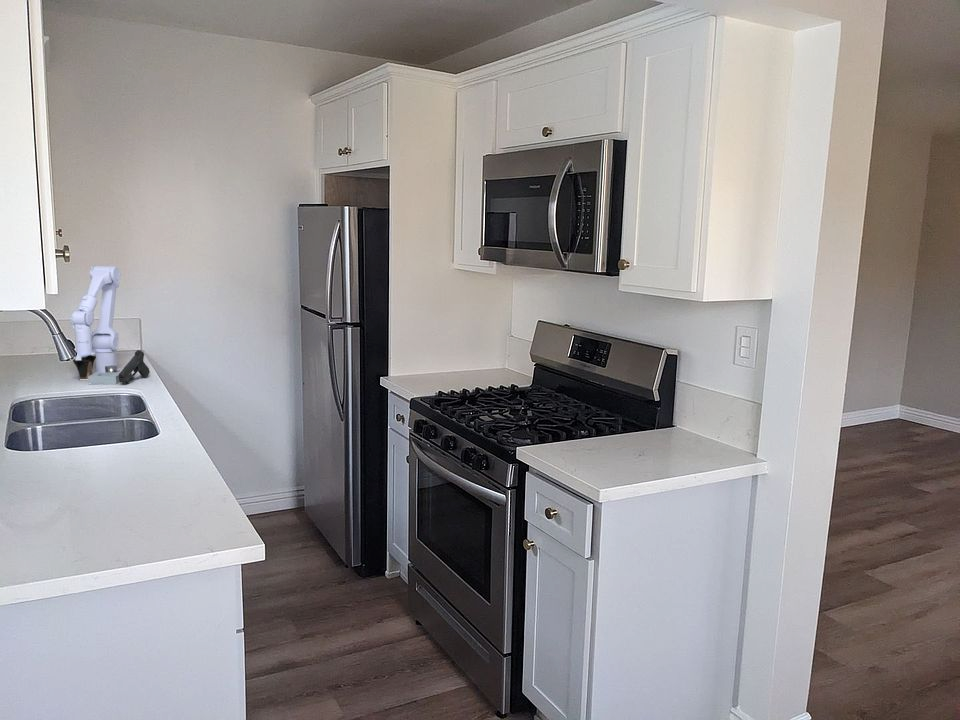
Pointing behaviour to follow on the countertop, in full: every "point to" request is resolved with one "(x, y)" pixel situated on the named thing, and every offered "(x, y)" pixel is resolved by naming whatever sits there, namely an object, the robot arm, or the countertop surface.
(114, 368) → the round bit
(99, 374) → the socket block
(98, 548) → the countertop surface
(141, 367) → the handgun
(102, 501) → the countertop surface
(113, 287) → the robot arm
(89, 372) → the square bit
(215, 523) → the countertop surface
